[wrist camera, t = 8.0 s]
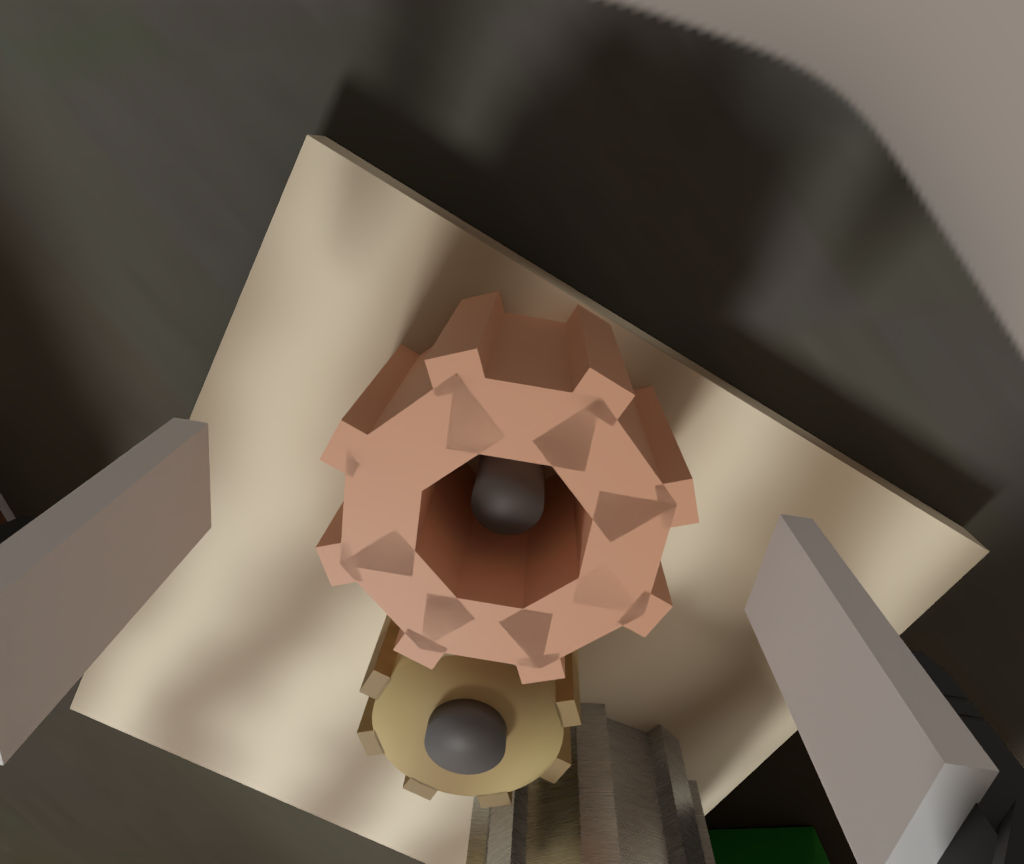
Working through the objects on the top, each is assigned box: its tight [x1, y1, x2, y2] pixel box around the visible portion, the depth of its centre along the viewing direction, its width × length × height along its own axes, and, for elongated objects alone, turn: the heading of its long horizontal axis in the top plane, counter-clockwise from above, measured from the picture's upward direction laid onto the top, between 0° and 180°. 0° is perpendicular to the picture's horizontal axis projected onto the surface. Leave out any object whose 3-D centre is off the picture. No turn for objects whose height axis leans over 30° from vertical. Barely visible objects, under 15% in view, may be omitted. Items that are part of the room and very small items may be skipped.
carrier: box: [70, 135, 989, 864], centre depth 22 cm, size 24×24×6 cm
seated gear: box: [466, 703, 715, 864], centre depth 23 cm, size 8×8×6 cm
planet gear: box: [316, 291, 699, 684], centre depth 17 cm, size 8×8×6 cm
